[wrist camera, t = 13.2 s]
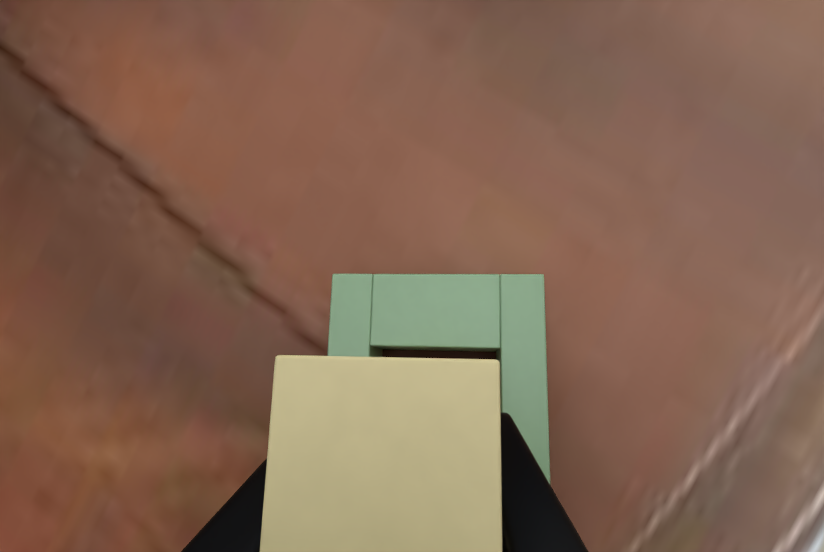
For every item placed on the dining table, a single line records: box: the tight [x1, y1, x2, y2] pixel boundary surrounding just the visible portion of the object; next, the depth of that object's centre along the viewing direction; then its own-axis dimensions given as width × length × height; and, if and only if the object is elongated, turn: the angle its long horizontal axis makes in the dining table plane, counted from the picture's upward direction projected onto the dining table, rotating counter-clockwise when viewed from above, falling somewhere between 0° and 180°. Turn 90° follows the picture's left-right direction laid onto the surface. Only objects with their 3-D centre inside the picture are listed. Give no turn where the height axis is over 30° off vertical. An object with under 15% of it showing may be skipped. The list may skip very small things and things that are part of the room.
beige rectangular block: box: [260, 355, 502, 552], centre depth 11 cm, size 5×3×10 cm, turn 179°
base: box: [328, 274, 550, 484], centre depth 16 cm, size 11×7×2 cm, turn 179°
